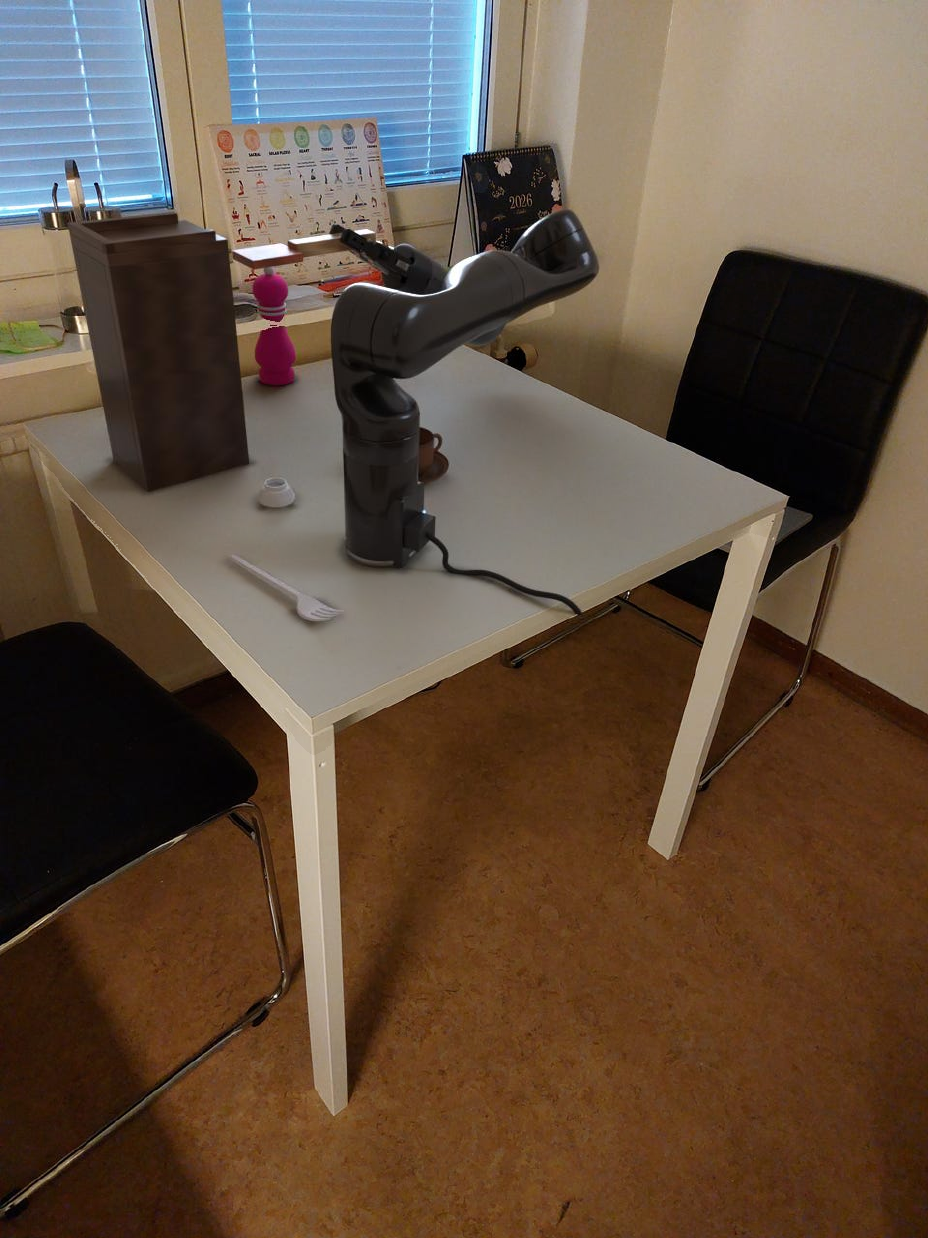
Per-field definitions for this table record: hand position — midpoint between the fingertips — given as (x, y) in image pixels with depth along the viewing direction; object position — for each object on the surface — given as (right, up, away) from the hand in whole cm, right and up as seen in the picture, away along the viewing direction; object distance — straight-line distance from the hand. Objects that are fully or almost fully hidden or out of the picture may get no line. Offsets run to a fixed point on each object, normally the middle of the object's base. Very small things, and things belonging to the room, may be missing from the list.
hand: (338, 232), depth 133 cm
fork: (-3, -54, -25) cm, 60 cm away
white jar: (-8, -41, -7) cm, 42 cm away
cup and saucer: (+10, -36, +2) cm, 37 cm away
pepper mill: (-15, -14, +30) cm, 36 cm away
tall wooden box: (-24, -34, +1) cm, 41 cm away
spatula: (-4, -4, -1) cm, 6 cm away
